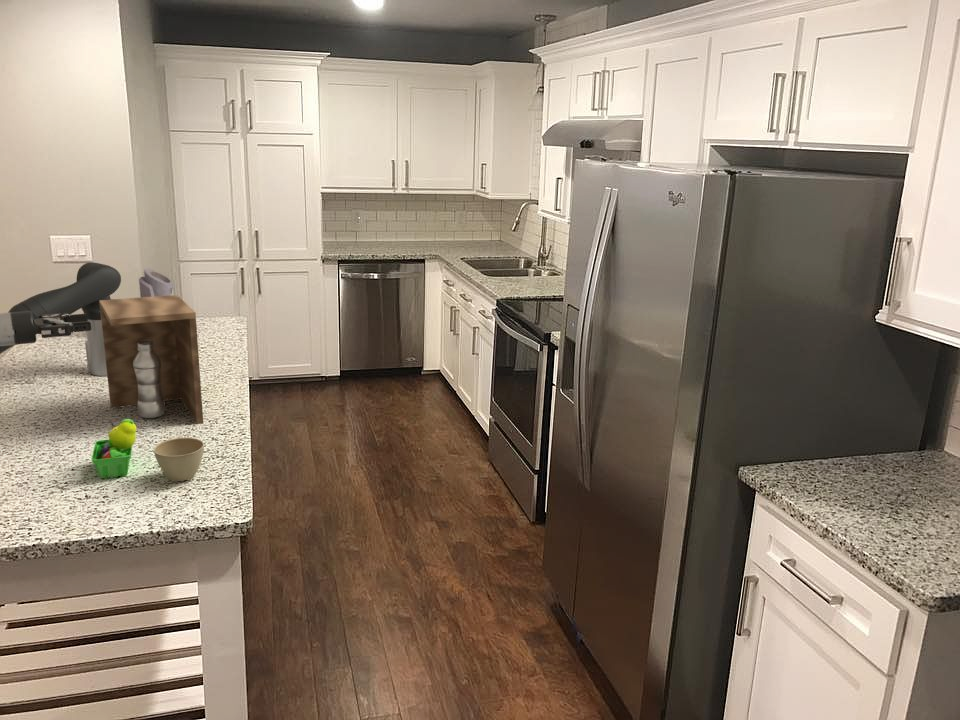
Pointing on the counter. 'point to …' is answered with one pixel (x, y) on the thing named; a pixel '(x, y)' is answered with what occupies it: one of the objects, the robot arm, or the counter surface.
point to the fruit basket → (115, 450)
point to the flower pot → (179, 457)
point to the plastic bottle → (148, 381)
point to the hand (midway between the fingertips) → (89, 321)
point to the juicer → (155, 284)
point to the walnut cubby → (172, 344)
